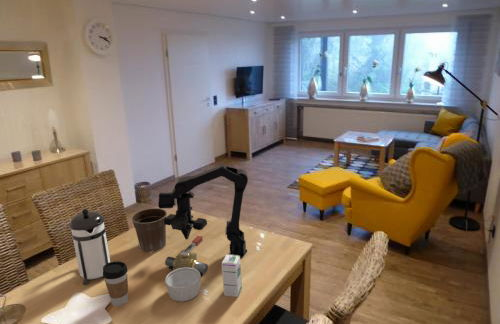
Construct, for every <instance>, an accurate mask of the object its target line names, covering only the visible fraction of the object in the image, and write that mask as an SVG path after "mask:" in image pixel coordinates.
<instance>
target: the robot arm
mask: <svg viewBox="0 0 500 324" xmlns="http://www.w3.org/2000/svg"><path fill="white" fill-rule="evenodd" d="M221 177H223V178H225V179H227V180H229V182H231V183H234V191H233V192H234V193H233V203H232V209H231V217H230V220H226V227H225V231H224V232H225V236H226V238H227V240H228V241H229V242H230V243H229V254H228V255H238V256H240V259H243V258H244V256H245V255H246V254H247V253H248V249H247V241H246V239H245V232H244V231H243V230H241V229H240V220H241V219H240V217H241V210H242V204H243V197H244V192H245V190H246V188H247V185H248V182H249V180H248V179H249V178H248V173H247V171H246V170H245V169H242V168H239V169H238V168H236V167H233V166H227V165H225V164H220V165H218V166H216V167H213V168H210V169H208V170H206V171H203V172H200V173H198V174H195V175H187V176H183V177H179V178H177V180H176V182H175V185H174V189H172V191H171V192H159V193H158V202H157V203H158V204H157V205H158V208H159V209H172V208H174V206H176V208H177V209H176V211H175V214H173V213H170V214H167V216H166V218H165V219H164V225H166V226H171V229H172V230H177V231H180V232H181V234H182V235H183V237H184V240H189V237H190V234H191V231H192V229H194V230H197V231H198V230H199V231H202V230H203V229H204V228H205V227H206V226H207V225H208V220H207V219H206V218H201V217H198V218H196V219H194V215H193V214H192V210H193V206H191V199H193V198H194V197H195V193H194V192H192V190H193V189H194V188H196V187H197V186H200V185H203V184H205V183H208V182H210V181H213V180H215V179H217V178H221Z"/></svg>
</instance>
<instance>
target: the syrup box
mask: <svg viewBox="0 0 500 324" xmlns="http://www.w3.org/2000/svg"><path fill="white" fill-rule="evenodd" d="M241 268H242V267H241V258H240V256H238V255H229V254H225V256H224V257H223V260H222V261H221V272H222V284H223V285H222V287H223V295H224V297H225V296H226V297H233V298H239V296H240V294H241V291H242V288H243V287H242V285H243V283H242V270H241Z"/></svg>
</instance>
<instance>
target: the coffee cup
mask: <svg viewBox="0 0 500 324" xmlns="http://www.w3.org/2000/svg"><path fill="white" fill-rule="evenodd" d="M128 269H129V268H128V267H127V264H126V263H125V261H119V260H117V261H116V260H115V261H110V262H109V263H107V264H106V265H104V266H103V276H102V277H103V278H104V282H105V286H106V289H107V292H108V295H109V299H110V304H111V305H112V306H113V307H121V306H124V305H126V304H127V303H128V301H129V293H128V292H129V282H128Z"/></svg>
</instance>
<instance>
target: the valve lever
mask: <svg viewBox="0 0 500 324" xmlns="http://www.w3.org/2000/svg"><path fill="white" fill-rule="evenodd" d="M202 241H203V236H201V235H196V237H195V238H194V239H192V241H191V243H190V244H189V245H188V246H187V247H186V248H184V249H182V250H181V251H180V252H181V255H182V257H188V256H189V252H192V250H193V249H194V248H195V247H198V246H199V245H200V244H201V243H202Z"/></svg>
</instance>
